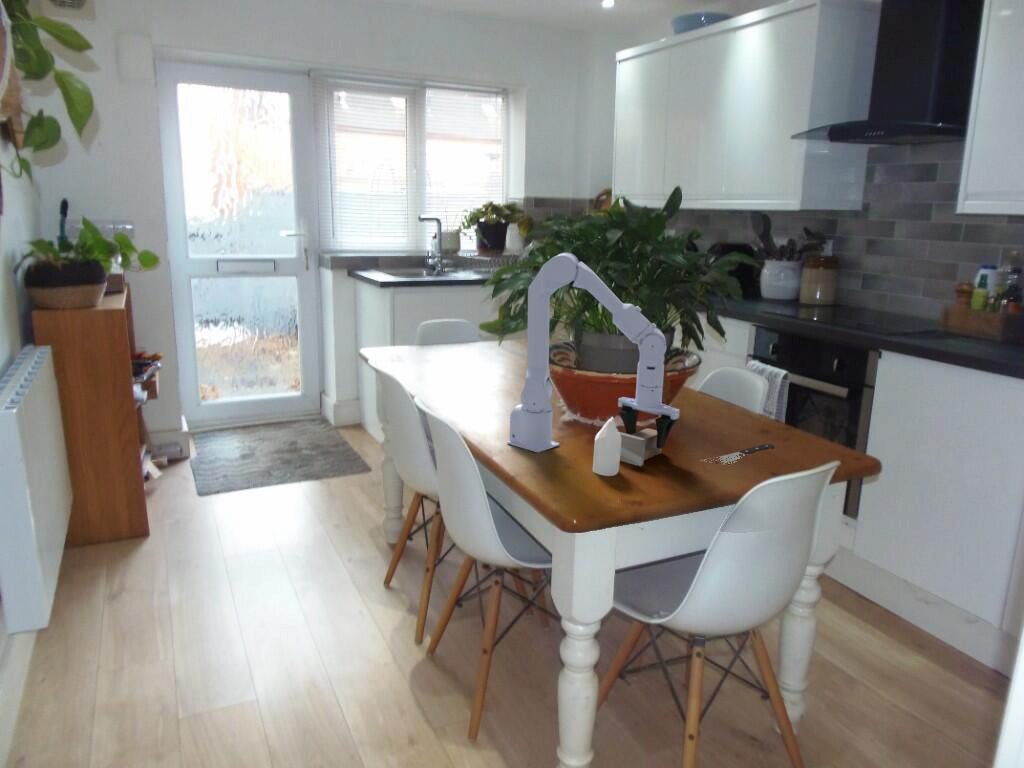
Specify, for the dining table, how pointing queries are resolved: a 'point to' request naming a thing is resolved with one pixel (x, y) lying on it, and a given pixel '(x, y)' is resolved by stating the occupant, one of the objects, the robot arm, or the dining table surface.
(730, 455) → the kitchen knife
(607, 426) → the white pointed cylinder
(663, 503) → the dining table surface
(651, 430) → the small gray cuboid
